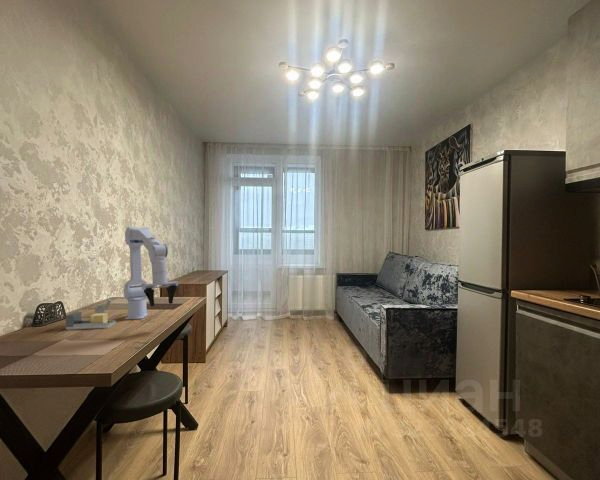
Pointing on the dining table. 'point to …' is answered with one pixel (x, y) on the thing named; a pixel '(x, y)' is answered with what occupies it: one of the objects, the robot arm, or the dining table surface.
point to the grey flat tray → (91, 325)
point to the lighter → (102, 309)
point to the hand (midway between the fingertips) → (161, 304)
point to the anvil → (73, 319)
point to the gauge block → (99, 318)
